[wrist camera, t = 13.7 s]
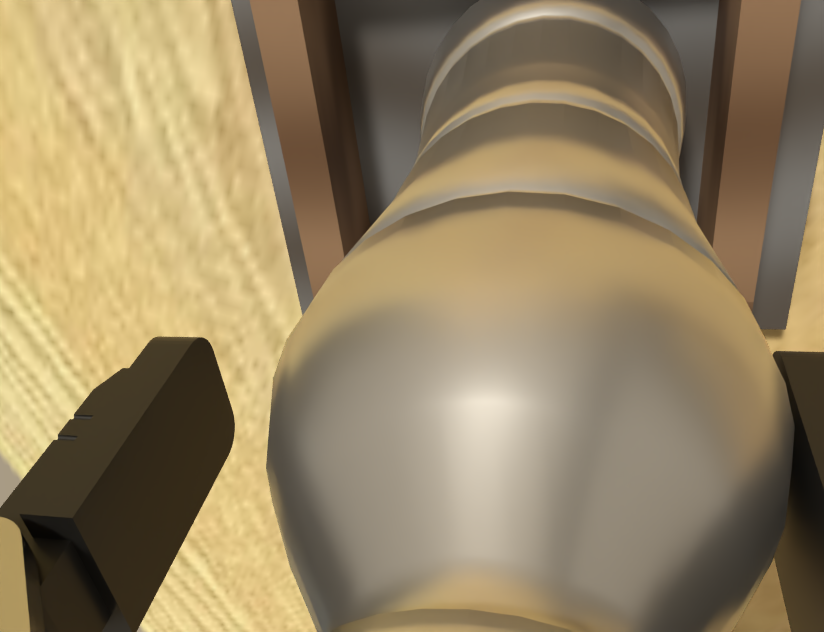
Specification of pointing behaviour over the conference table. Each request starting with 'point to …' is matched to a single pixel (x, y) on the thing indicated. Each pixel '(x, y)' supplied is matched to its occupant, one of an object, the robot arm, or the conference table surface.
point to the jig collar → (402, 103)
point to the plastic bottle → (534, 361)
